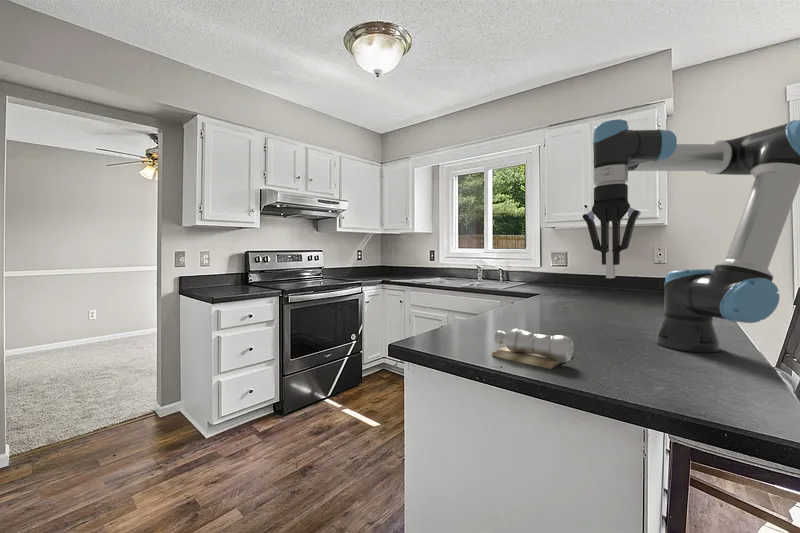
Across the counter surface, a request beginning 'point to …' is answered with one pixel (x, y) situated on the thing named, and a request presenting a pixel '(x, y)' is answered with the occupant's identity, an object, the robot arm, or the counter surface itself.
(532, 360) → the birch board
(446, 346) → the counter surface
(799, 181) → the robot arm
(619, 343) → the counter surface
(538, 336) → the plastic bottle
